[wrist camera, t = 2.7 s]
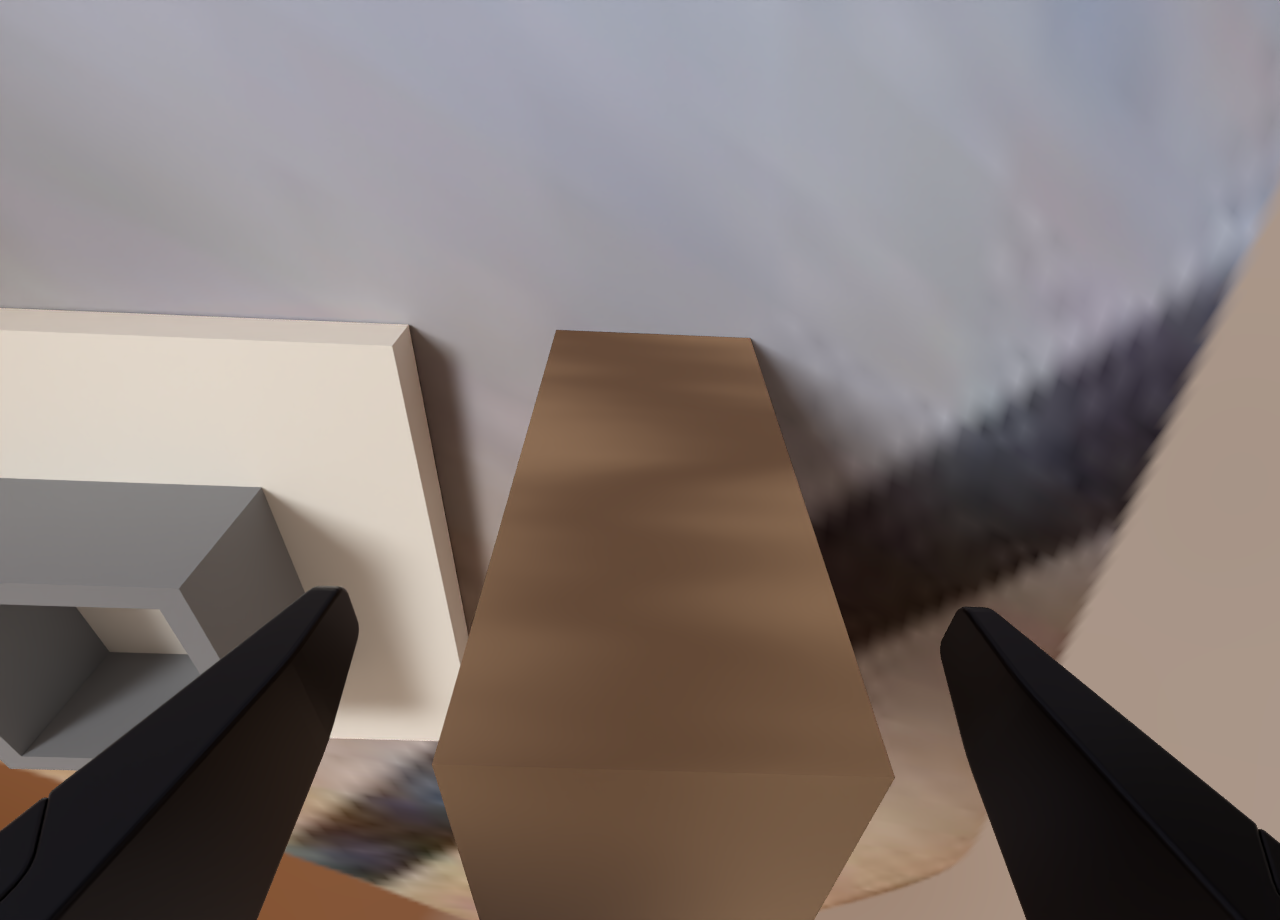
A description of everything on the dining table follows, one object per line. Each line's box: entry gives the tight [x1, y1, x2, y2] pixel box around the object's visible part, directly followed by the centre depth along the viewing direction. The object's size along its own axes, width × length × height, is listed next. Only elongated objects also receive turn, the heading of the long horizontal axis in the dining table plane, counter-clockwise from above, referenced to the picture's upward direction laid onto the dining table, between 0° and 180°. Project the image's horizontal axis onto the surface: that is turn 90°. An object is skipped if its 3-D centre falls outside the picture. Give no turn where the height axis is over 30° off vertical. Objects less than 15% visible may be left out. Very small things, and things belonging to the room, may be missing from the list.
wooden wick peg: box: [432, 330, 895, 920], centre depth 10 cm, size 4×4×9 cm
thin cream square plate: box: [0, 308, 468, 770], centre depth 15 cm, size 14×14×4 cm
